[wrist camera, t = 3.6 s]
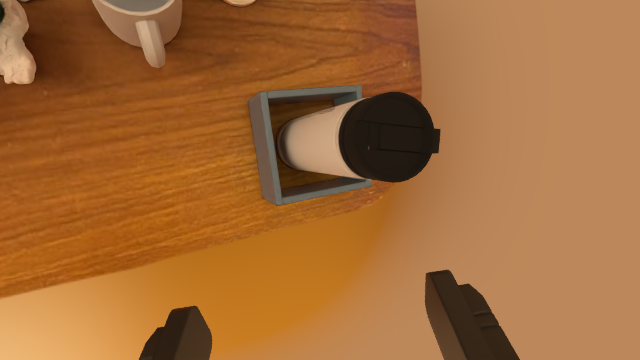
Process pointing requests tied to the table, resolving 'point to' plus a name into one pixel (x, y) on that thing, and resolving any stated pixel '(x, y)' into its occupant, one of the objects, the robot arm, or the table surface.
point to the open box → (267, 148)
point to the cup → (143, 24)
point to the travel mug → (362, 139)
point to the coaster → (239, 2)
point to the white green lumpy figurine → (14, 44)
